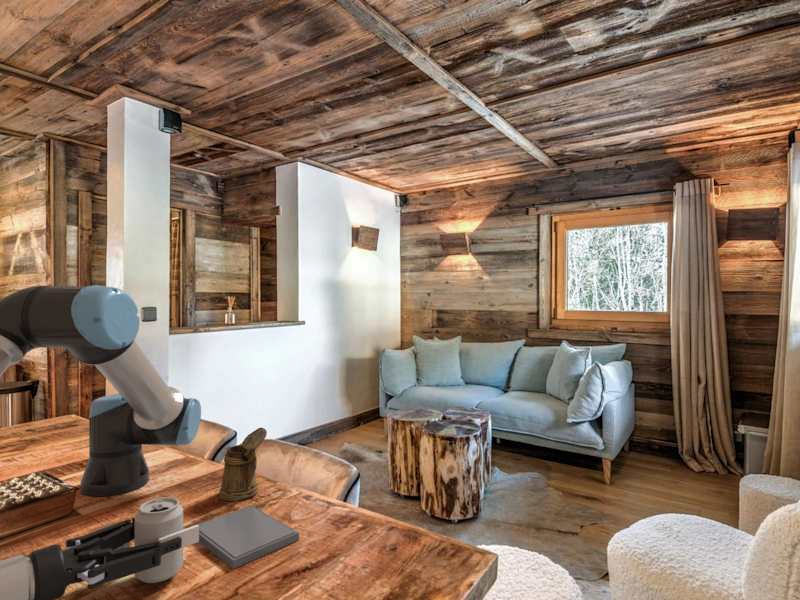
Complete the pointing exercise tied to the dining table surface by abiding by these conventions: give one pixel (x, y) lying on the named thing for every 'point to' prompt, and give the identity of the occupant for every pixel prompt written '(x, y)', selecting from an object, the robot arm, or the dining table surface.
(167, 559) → the can
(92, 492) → the robot arm
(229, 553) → the slate board
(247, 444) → the wooden mug
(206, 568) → the dining table surface
